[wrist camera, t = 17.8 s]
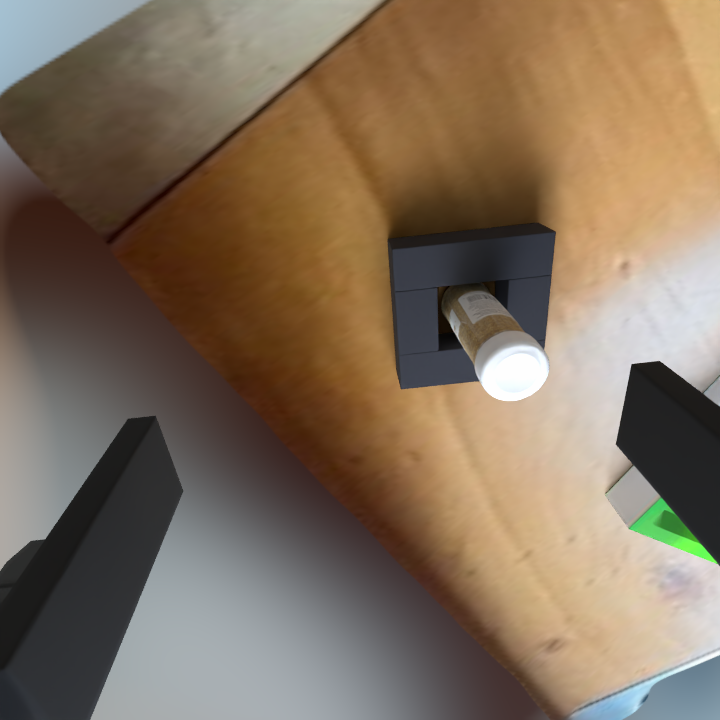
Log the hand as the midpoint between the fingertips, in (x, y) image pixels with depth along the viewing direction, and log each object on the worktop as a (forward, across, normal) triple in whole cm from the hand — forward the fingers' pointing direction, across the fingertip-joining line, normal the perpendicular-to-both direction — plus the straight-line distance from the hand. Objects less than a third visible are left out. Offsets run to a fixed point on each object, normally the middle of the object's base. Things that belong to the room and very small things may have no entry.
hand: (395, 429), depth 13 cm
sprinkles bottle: (+29, +9, -8) cm, 31 cm away
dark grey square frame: (+29, +9, -8) cm, 31 cm away
